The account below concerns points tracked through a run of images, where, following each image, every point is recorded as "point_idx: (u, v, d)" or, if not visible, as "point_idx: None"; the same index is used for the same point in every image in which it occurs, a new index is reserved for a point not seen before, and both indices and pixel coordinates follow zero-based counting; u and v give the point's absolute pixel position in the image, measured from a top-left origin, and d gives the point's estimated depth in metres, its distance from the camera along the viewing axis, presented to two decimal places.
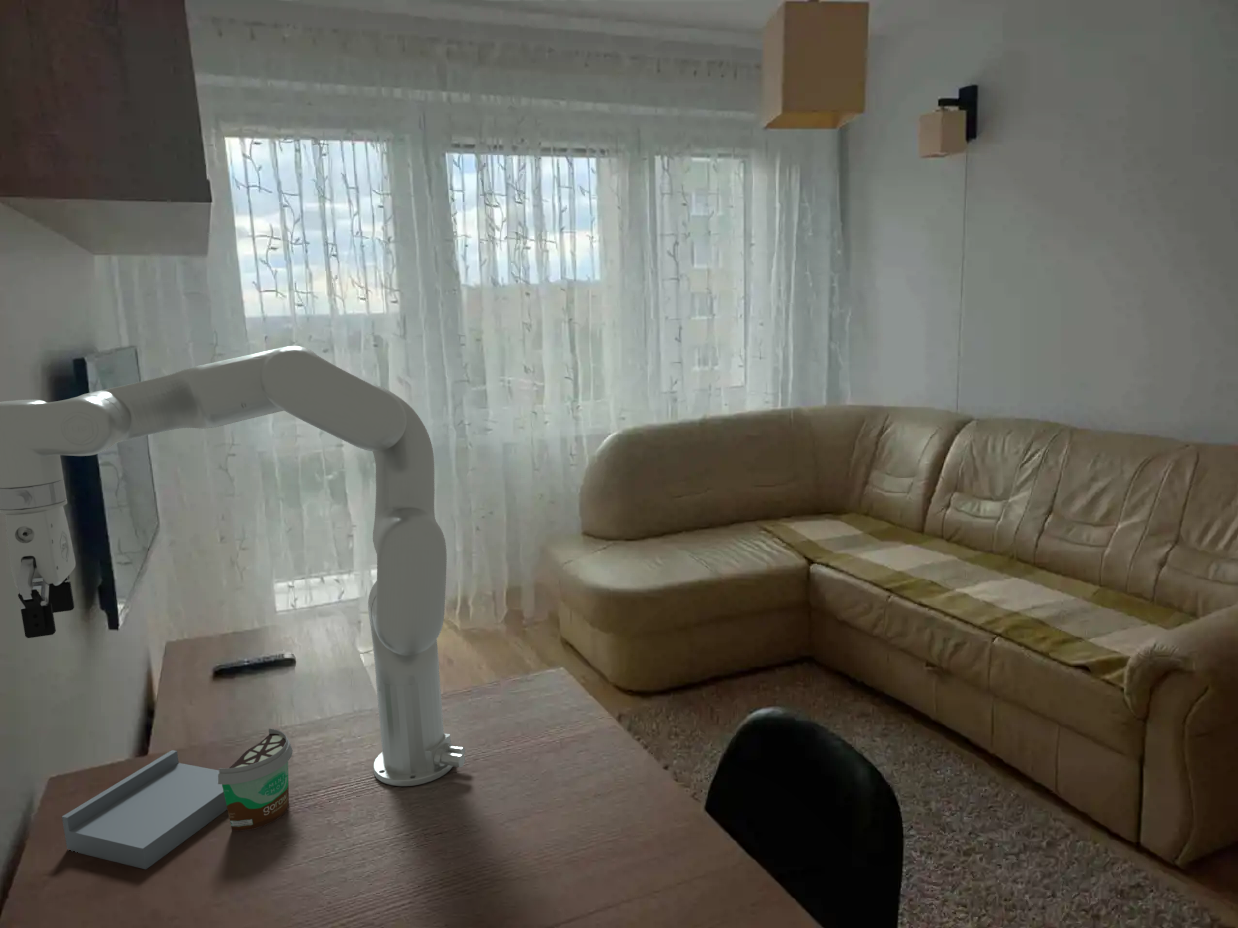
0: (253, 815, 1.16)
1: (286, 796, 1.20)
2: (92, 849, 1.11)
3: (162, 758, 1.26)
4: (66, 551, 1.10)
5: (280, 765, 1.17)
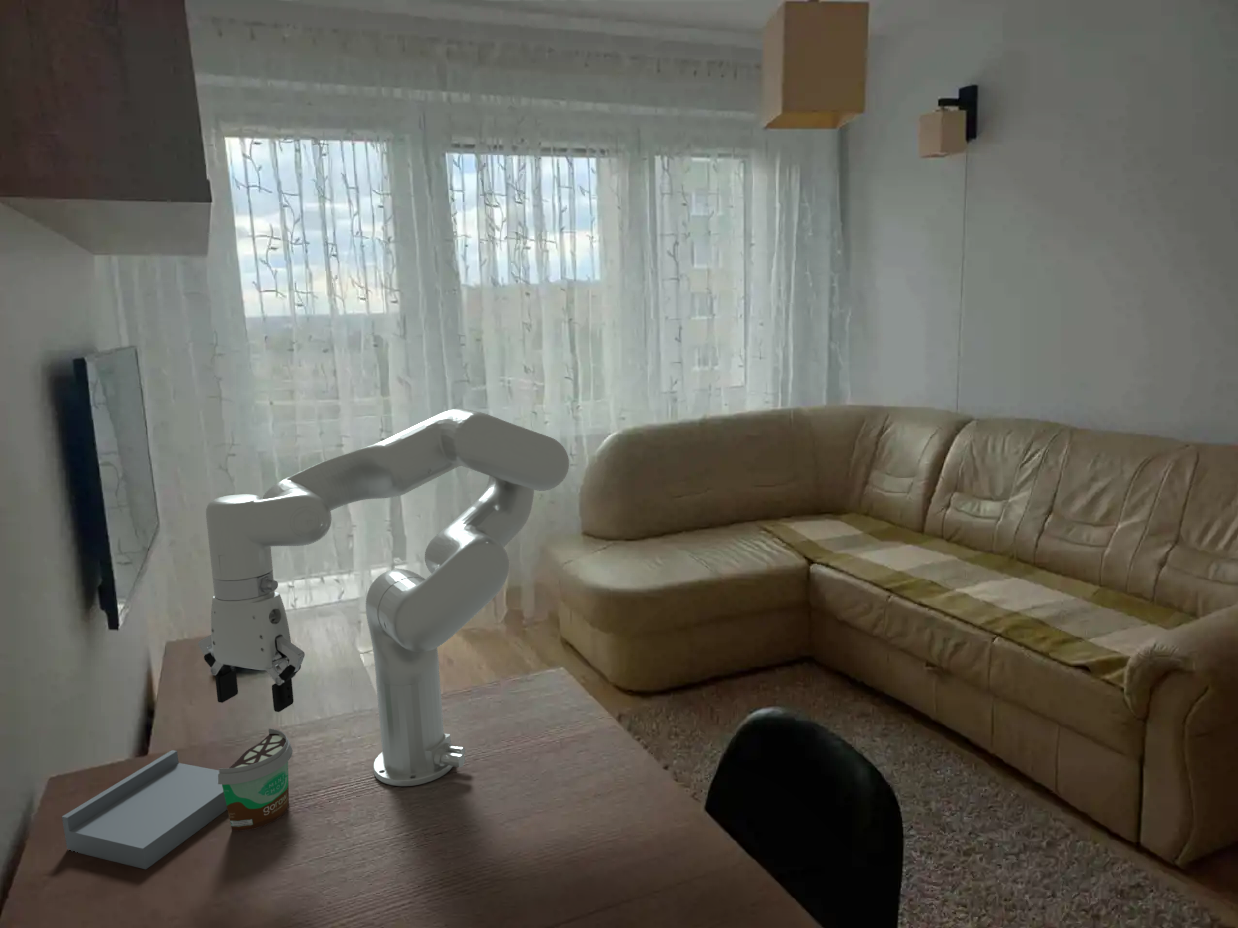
0: (253, 815, 1.16)
1: (286, 796, 1.20)
2: (92, 849, 1.11)
3: (162, 758, 1.26)
4: None
5: (280, 765, 1.17)
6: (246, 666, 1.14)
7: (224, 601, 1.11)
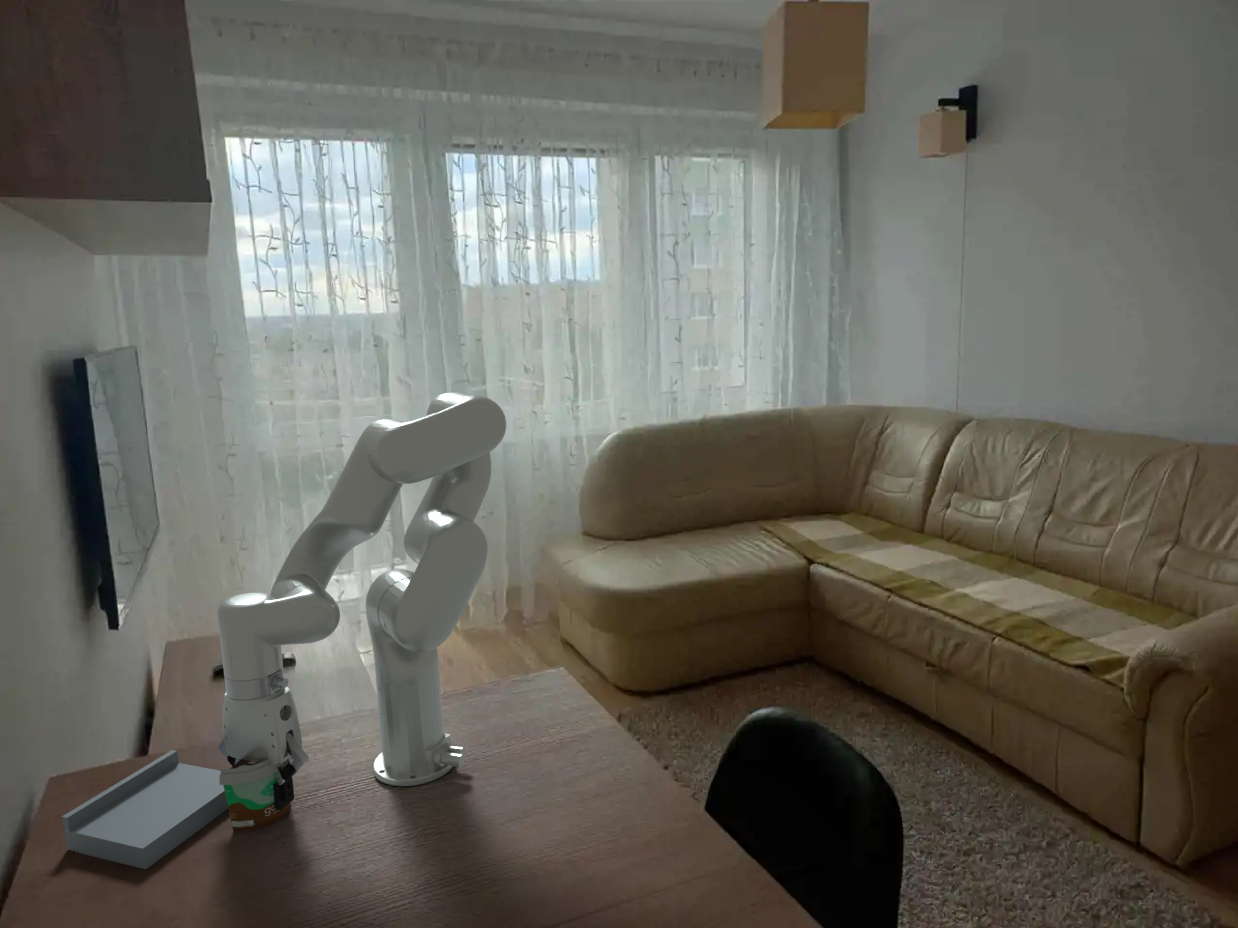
0: (254, 815, 1.16)
1: None
2: (92, 849, 1.11)
3: (162, 758, 1.26)
4: None
5: (282, 766, 1.17)
6: (258, 761, 1.16)
7: (236, 700, 1.13)
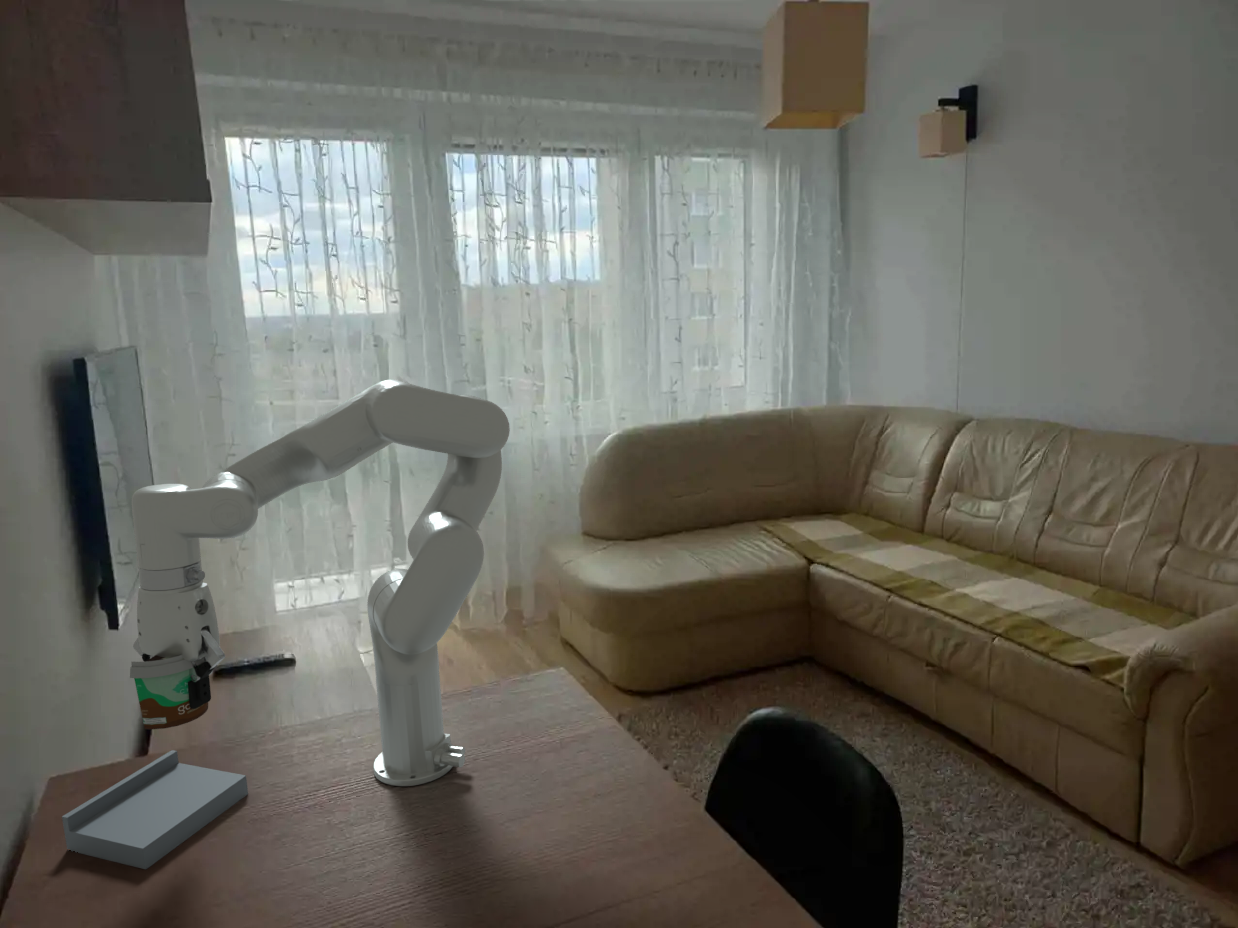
0: (166, 713, 1.12)
1: None
2: (92, 849, 1.11)
3: (162, 758, 1.26)
4: None
5: (197, 663, 1.13)
6: (172, 657, 1.13)
7: (149, 591, 1.10)
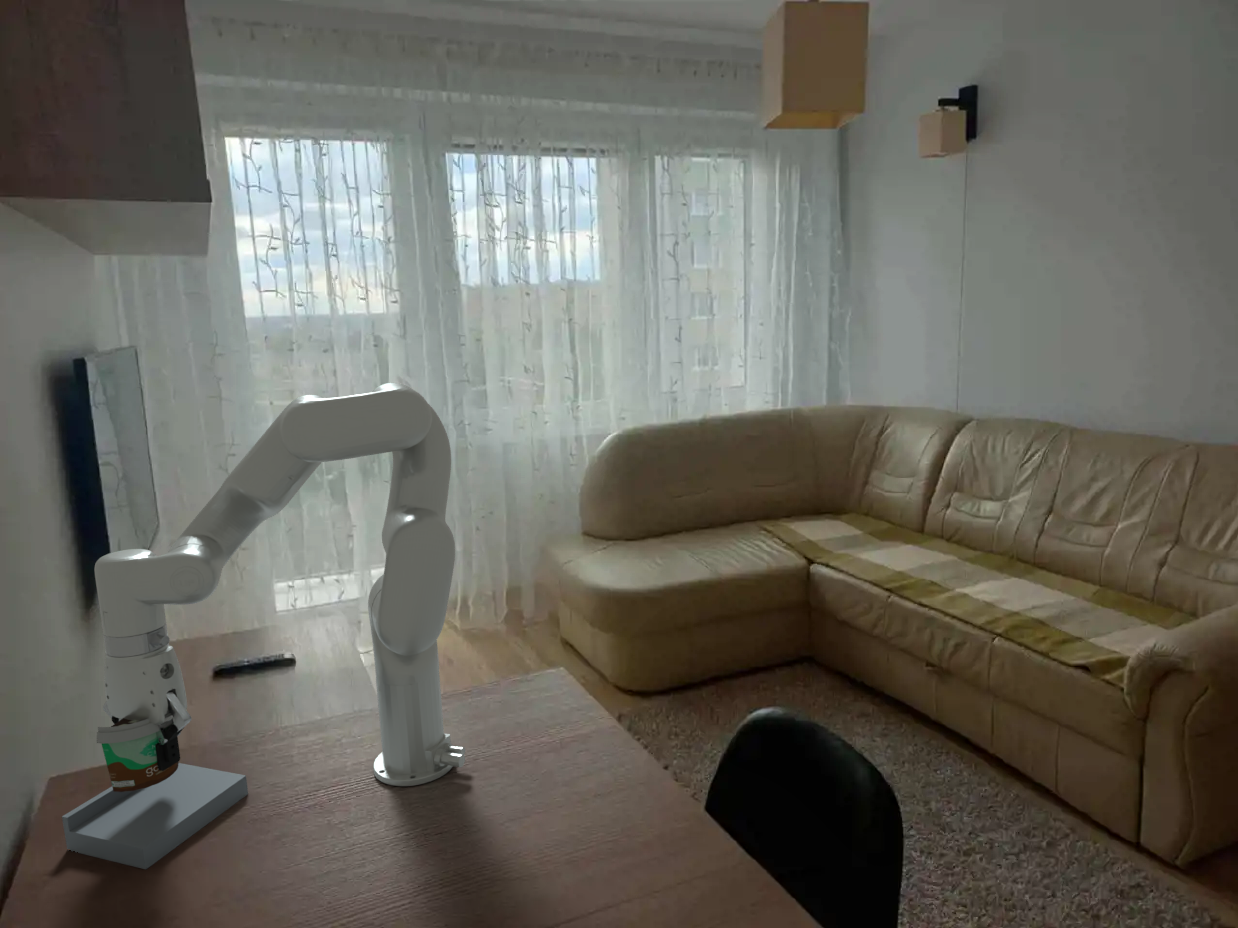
0: (134, 776, 1.14)
1: None
2: (92, 849, 1.11)
3: None
4: None
5: (164, 726, 1.15)
6: (139, 720, 1.14)
7: (114, 657, 1.11)
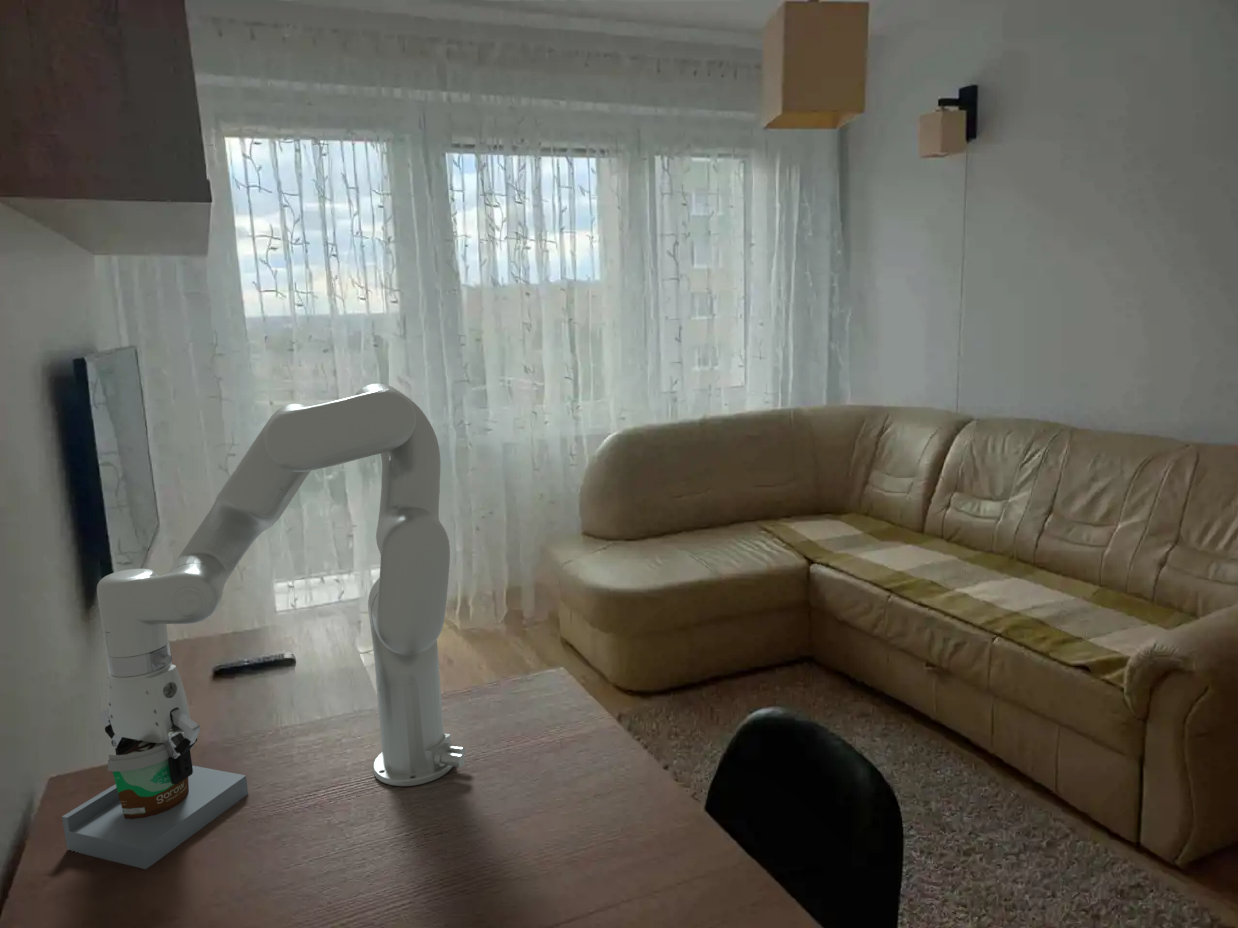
0: (145, 803, 1.14)
1: (184, 785, 1.19)
2: (92, 849, 1.11)
3: None
4: None
5: None
6: (143, 739, 1.14)
7: (117, 677, 1.11)
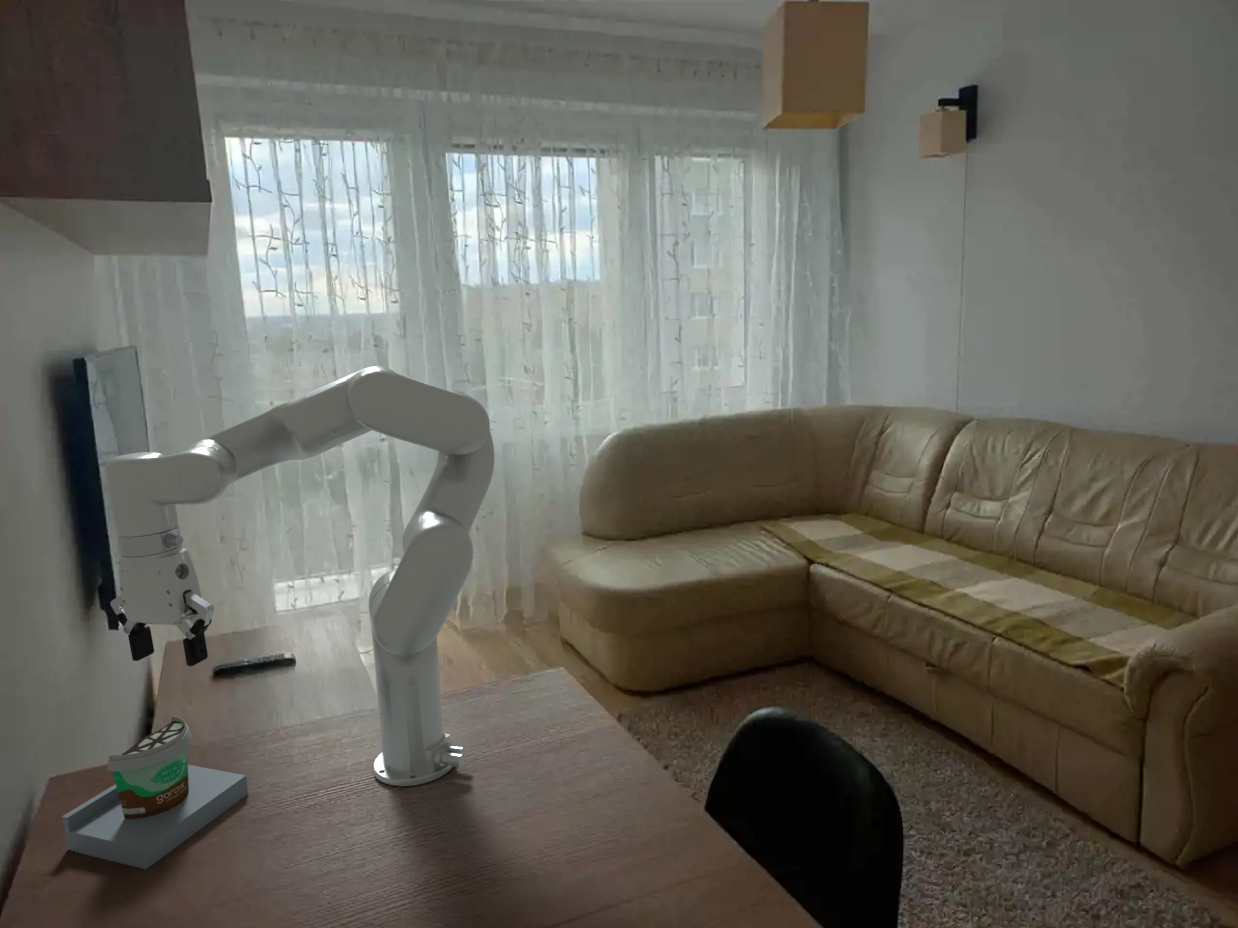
0: (145, 803, 1.14)
1: (184, 785, 1.19)
2: (92, 849, 1.11)
3: None
4: None
5: (174, 753, 1.15)
6: (156, 622, 1.14)
7: (128, 558, 1.11)
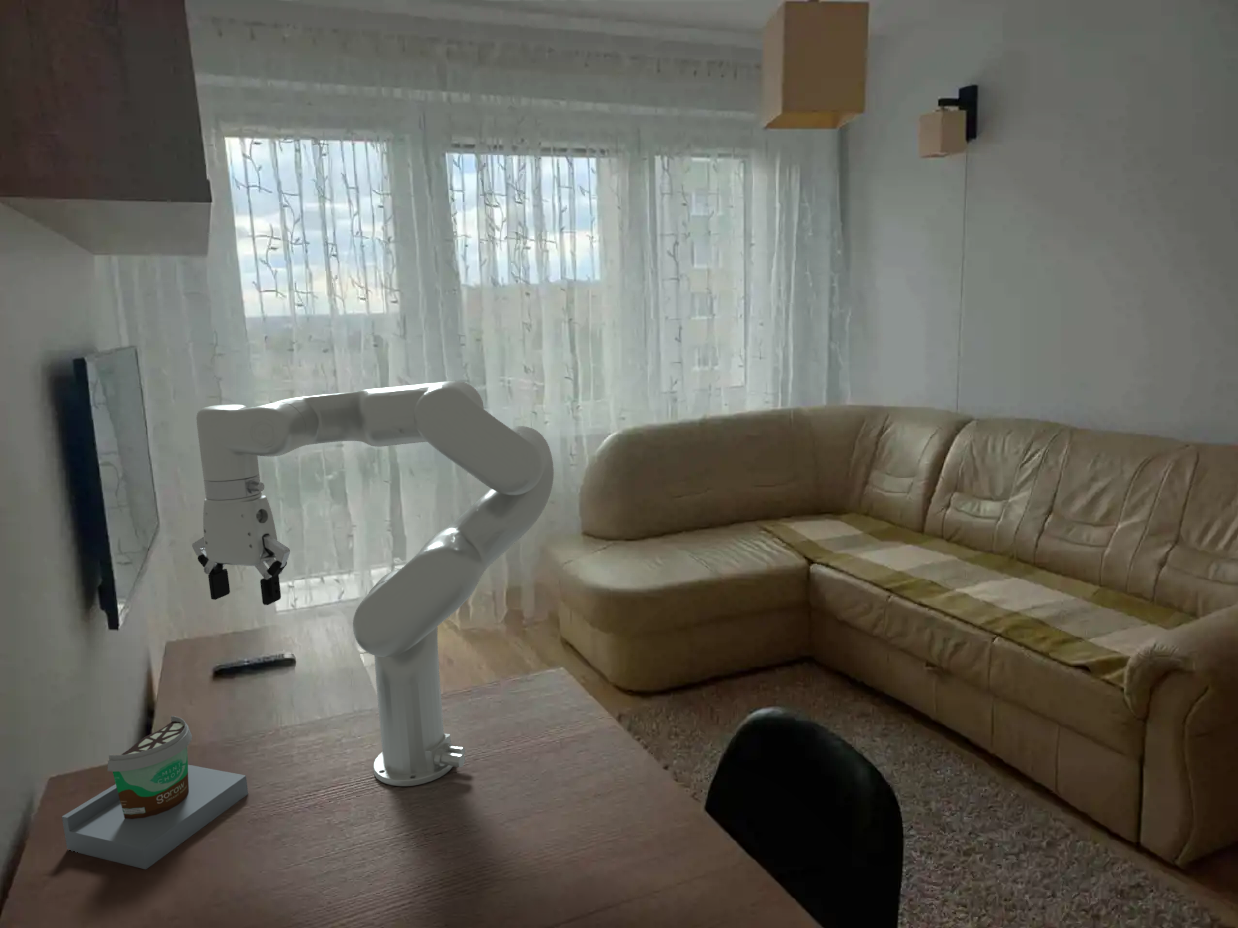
0: (145, 803, 1.14)
1: (184, 785, 1.19)
2: (92, 849, 1.11)
3: None
4: None
5: (174, 753, 1.15)
6: (236, 563, 1.23)
7: (214, 501, 1.20)
